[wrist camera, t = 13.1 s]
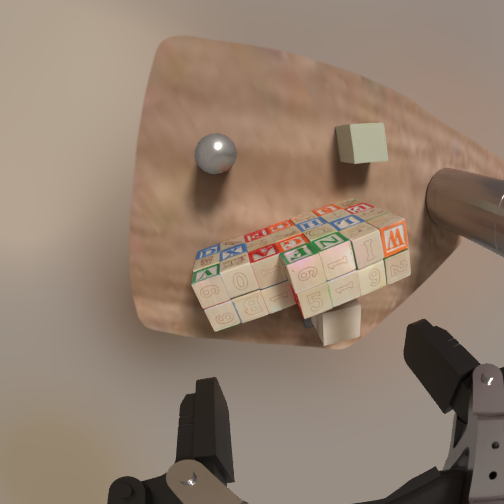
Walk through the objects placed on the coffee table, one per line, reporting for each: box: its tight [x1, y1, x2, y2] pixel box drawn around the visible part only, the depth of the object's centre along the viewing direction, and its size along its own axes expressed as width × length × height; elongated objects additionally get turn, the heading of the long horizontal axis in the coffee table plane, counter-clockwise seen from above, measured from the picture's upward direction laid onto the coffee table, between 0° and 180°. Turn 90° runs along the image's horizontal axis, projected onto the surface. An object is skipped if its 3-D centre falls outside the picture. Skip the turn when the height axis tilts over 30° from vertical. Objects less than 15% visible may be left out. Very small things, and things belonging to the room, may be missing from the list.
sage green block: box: [335, 123, 388, 164], centre depth 31 cm, size 4×4×4 cm
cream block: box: [311, 298, 361, 346], centre depth 37 cm, size 5×5×6 cm
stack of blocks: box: [191, 198, 411, 332], centre depth 31 cm, size 21×6×12 cm, turn 109°
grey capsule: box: [195, 134, 236, 174], centre depth 29 cm, size 4×4×6 cm
